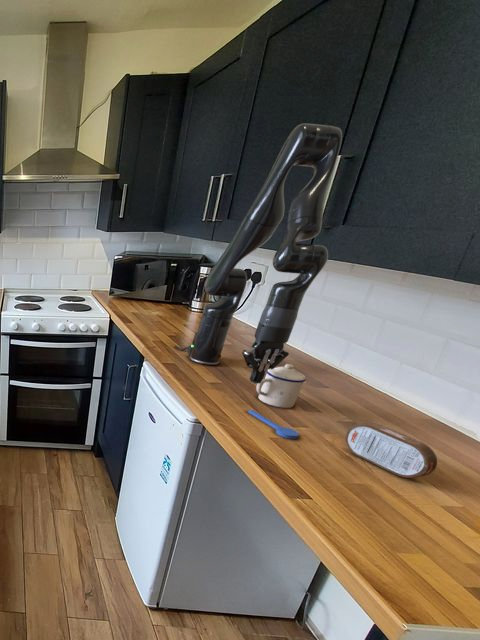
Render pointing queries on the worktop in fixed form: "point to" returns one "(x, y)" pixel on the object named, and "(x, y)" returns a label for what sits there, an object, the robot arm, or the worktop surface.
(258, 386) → the teacup with lid
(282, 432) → the spoon
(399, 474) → the tin
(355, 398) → the worktop surface
